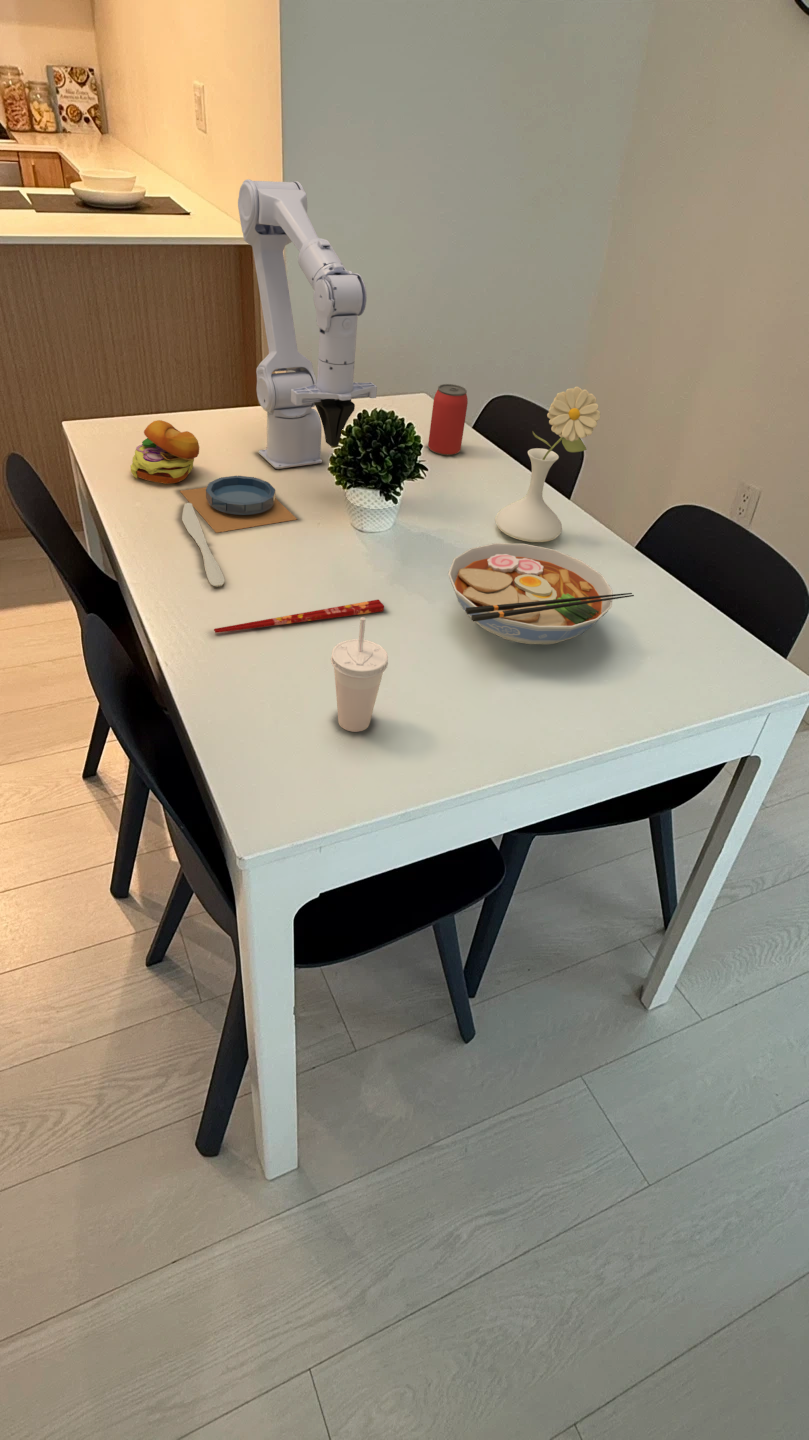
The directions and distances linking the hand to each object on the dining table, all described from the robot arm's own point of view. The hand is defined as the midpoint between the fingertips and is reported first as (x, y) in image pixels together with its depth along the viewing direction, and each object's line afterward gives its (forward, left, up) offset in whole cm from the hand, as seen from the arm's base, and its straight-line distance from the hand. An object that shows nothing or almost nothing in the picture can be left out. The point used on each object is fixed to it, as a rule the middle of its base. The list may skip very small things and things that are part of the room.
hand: (331, 443), depth 144 cm
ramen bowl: (-6, +47, -10) cm, 48 cm away
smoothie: (+26, +56, -10) cm, 62 cm away
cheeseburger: (+23, -17, -10) cm, 30 cm away
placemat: (+16, -2, -9) cm, 19 cm away
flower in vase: (-26, +24, -10) cm, 37 cm away
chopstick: (+22, +34, -10) cm, 42 cm away
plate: (+15, -2, -9) cm, 18 cm away
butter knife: (+27, +8, -10) cm, 29 cm away
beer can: (-32, -12, -10) cm, 35 cm away
